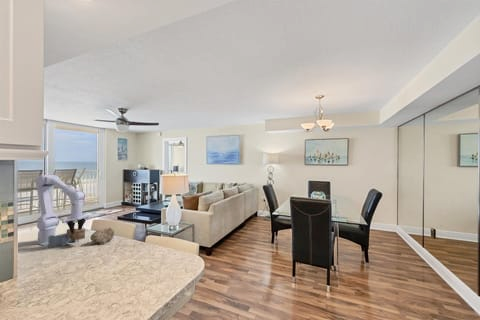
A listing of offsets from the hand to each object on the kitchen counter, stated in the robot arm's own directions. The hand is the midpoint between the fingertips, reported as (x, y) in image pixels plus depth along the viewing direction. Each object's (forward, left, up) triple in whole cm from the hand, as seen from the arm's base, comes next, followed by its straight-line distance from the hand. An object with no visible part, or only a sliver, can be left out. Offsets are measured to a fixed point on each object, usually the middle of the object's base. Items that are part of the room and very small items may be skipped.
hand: (75, 232), depth 133 cm
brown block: (0, 0, -4) cm, 4 cm away
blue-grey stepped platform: (-7, 0, -8) cm, 11 cm away
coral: (+11, +11, -8) cm, 17 cm away
